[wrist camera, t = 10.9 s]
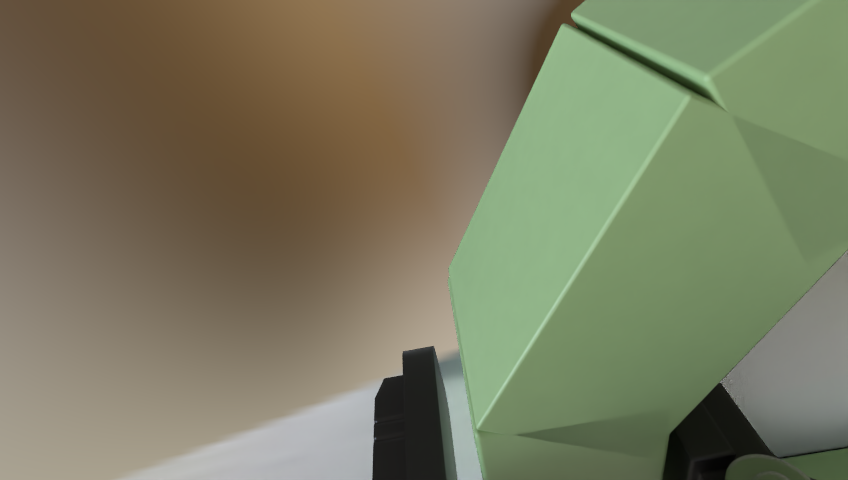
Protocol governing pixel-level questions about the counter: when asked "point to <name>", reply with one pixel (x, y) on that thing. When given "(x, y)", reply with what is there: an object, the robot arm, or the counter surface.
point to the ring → (650, 228)
